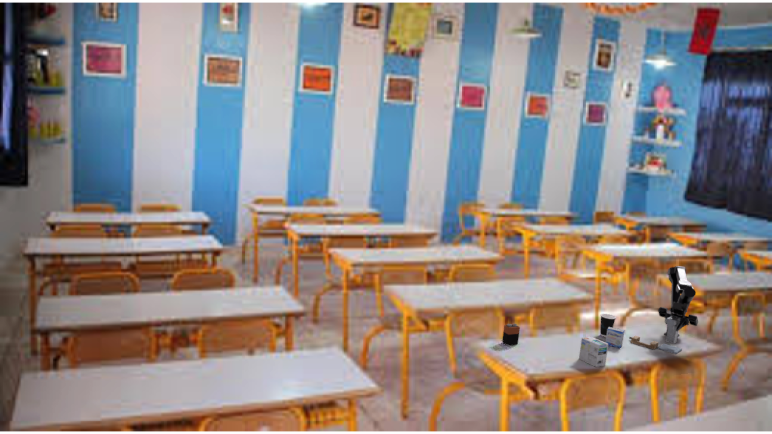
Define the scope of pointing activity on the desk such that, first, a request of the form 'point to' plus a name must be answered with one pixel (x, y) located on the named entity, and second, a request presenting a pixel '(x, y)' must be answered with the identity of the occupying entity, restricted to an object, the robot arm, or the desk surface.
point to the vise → (637, 341)
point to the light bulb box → (593, 351)
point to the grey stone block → (672, 328)
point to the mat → (669, 348)
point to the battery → (511, 334)
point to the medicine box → (614, 337)
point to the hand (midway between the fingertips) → (672, 329)
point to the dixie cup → (606, 323)
